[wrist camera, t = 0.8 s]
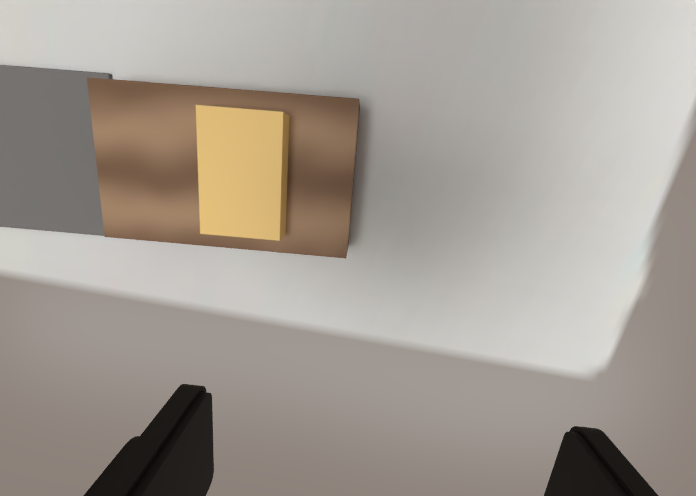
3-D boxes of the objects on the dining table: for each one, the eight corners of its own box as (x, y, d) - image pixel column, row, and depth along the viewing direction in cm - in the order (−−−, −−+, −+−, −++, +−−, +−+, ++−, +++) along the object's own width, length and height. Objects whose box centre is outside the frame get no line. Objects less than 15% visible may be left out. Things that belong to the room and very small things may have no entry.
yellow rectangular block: (208, 109, 25) (195, 104, 23) (289, 115, 25) (283, 111, 23) (211, 228, 27) (200, 233, 25) (285, 234, 27) (279, 240, 25)
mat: (-96, 58, 29) (-103, 57, 28) (111, 74, 28) (107, 73, 28) (-58, 220, 32) (-63, 220, 32) (126, 236, 32) (123, 237, 31)
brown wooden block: (124, 88, 28) (86, 77, 25) (359, 107, 28) (359, 98, 24) (136, 227, 32) (104, 236, 28) (348, 245, 31) (346, 258, 27)
